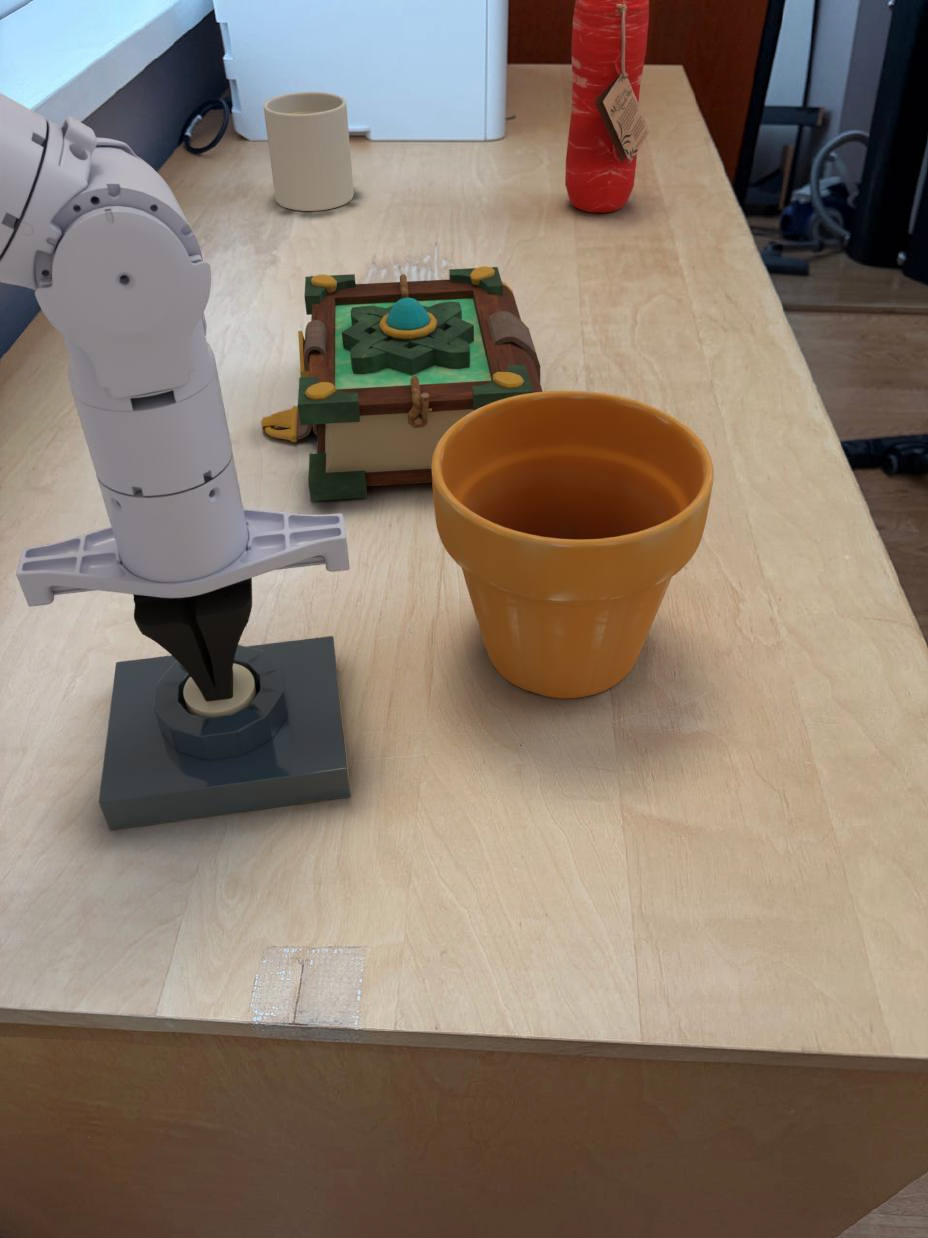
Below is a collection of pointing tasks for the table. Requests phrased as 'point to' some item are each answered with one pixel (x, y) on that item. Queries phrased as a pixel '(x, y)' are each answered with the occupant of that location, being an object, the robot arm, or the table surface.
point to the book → (400, 373)
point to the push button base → (225, 739)
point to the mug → (309, 150)
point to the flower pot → (569, 529)
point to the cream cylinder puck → (241, 699)
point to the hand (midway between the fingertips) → (219, 686)
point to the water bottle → (606, 102)
